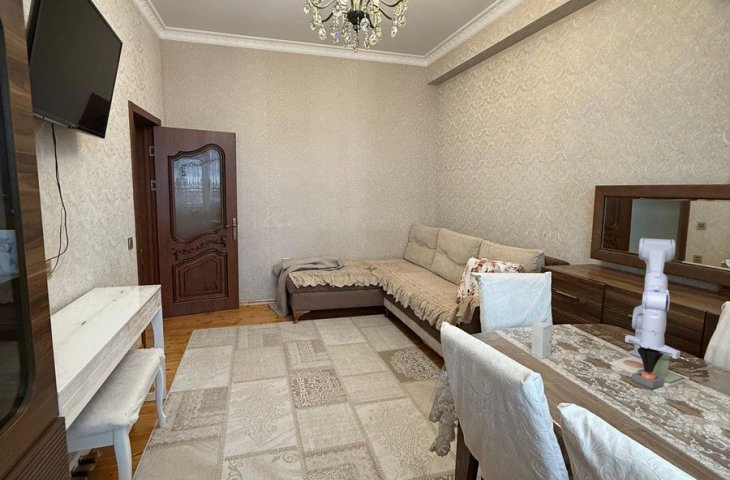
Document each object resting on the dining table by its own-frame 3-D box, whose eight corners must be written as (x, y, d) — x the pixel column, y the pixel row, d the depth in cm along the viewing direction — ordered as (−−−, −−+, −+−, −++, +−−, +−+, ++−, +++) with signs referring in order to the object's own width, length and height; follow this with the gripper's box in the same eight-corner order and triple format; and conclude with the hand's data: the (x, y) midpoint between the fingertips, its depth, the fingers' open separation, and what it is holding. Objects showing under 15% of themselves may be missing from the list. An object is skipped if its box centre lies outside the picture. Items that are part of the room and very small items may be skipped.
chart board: (630, 357, 139) (630, 355, 139) (689, 379, 123) (689, 377, 123) (609, 363, 134) (609, 361, 134) (667, 387, 118) (667, 385, 118)
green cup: (655, 370, 128) (657, 350, 127) (669, 374, 125) (671, 353, 124) (652, 374, 125) (654, 353, 124) (666, 378, 123) (668, 357, 122)
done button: (645, 377, 123) (645, 370, 122) (657, 382, 119) (658, 375, 119) (638, 380, 121) (638, 372, 121) (650, 385, 118) (651, 377, 118)
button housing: (643, 377, 124) (643, 370, 124) (663, 385, 119) (664, 378, 119) (631, 381, 122) (632, 373, 122) (652, 389, 116) (653, 382, 116)
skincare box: (541, 359, 138) (543, 327, 136) (530, 355, 141) (532, 323, 140) (551, 355, 141) (553, 323, 140) (540, 351, 145) (542, 320, 143)
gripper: (620, 324, 123) (617, 364, 125) (672, 339, 110) (667, 384, 112) (634, 321, 126) (630, 360, 128) (685, 336, 113) (681, 379, 115)
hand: (648, 371), depth 120 cm, fingers closed
